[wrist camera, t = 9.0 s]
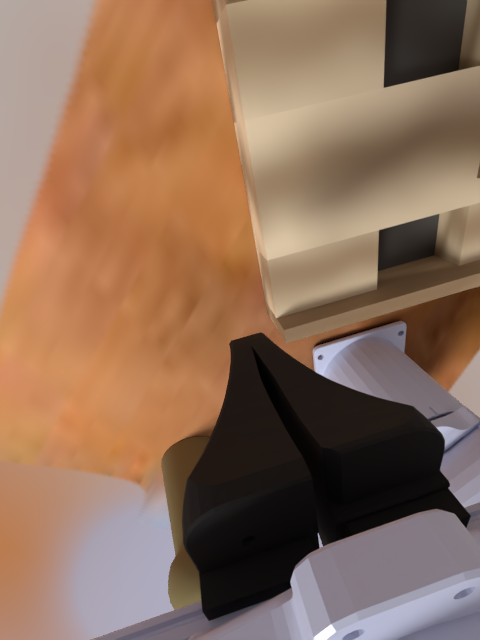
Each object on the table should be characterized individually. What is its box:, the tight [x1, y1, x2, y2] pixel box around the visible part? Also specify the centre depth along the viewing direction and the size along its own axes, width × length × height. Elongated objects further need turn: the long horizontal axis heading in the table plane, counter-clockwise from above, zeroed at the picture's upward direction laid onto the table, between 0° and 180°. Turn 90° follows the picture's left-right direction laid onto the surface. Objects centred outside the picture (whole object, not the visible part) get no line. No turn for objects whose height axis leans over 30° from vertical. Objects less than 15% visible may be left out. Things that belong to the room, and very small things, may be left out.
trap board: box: [212, 0, 480, 343], centre depth 18 cm, size 17×20×4 cm
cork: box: [162, 436, 210, 610], centre depth 25 cm, size 6×6×11 cm
